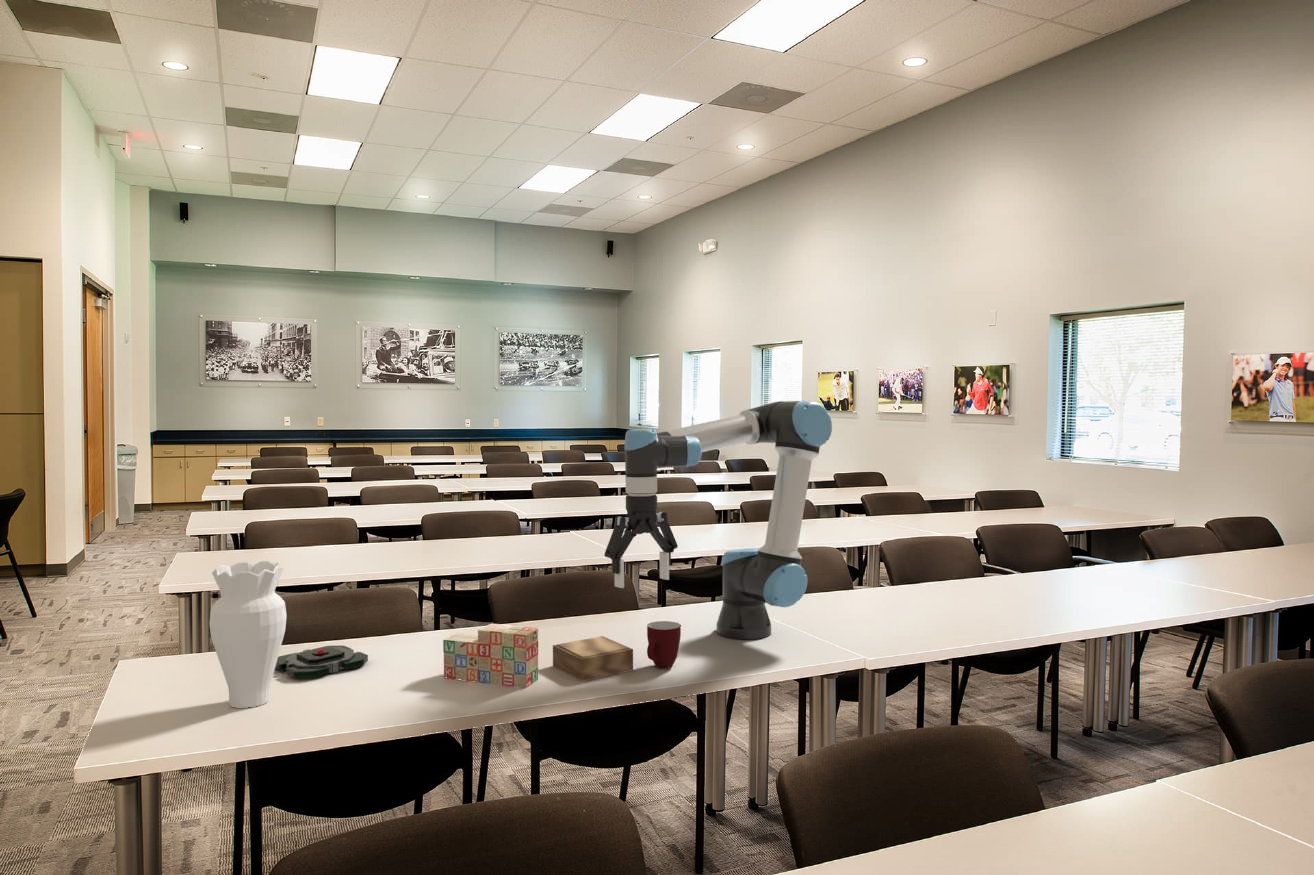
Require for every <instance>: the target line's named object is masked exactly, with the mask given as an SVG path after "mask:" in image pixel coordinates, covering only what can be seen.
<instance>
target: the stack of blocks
mask: <svg viewBox="0 0 1314 875" xmlns="http://www.w3.org/2000/svg"><path fill="white" fill-rule="evenodd" d="M442 643H443V646H442V647H443V649H442V652H443V678H444V677H447V678H451V679H450V680H454V679H455V680H456V679H461V680H465V681H464V682H469V681H475V682H474V683H477V682H478V683H479V682H481V683H480V684H486V683H487V685H490V684H491V685H494V686H495V685H498V686H505V687H511V688H512V687H513V688H519V689H527V688H529V687H530V686H532V685H533V684H534V683H536V682H537V681H538V680H539V628H538V627H527V626H525V625H516V624H515V625H512V624H511V625H510V624H500V623H489V624H487V625H485V626H483V627H482V628H479V629H478V630H477V634H471V633H460V632H456V633H454V634H452V635H450V636H448V637H446V638H444V639H443V641H442ZM461 680H460V681H461Z"/></svg>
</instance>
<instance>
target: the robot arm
mask: <svg viewBox="0 0 1314 875" xmlns="http://www.w3.org/2000/svg"><path fill="white" fill-rule="evenodd" d="M832 422H833V421H832V418H831V415H830V413H829V412H828V411H827V409H826V408H825V407H824V406H823V405H822V404H821V403H819V402H816V401H810V400H809V401H808V400H794V401H793V400H791V401H790V400H789V401H788V400H787V401H784V400H783V401H782V400H779V401H772V402H769V403H767V404H762V405H760V406H756V407H752V408H749V409H743V410H742V411H740V413H739V414H738V415H735V416H729V417H726V418H725V417H724V418H720V419H715V420H710V421H707V422H701V423H697V424H693V425H687V426H683V427H680V428H674V429H671V430H666V431H661V432H660V431H659V432H657V430H656V429H653V428H639V429H638V428H636V429H635V428H634V429H628V430H627V431H626V432H625V438H624V464H625V466H624V467H625V470H624V471H625V493H626V496H625V510H626V517H625V516H624V517H623V516H618V515H617V516H616V517H615V518H614V519H615V522H614V527H613V529H612V533H611V535H610V538H609V541H608V544H607V546H606V548H605V551H604V557H606V558H608V559H611V571H612V574H614V587H616V588H618V589H619V588H620V589H625V560H624V559H622V558H623V556H624V554H625V552H626V551H627V549H628V548H629V546H630V545H631V542H632V541H633V539H634V538H635V537H636V536H637V535H642V534H650V535H651V537H652V538H653V540H654V541H655V542H656V543H657V546H659V548H660V549H661V550H662V551H658V552H659V579H660V580H661V579H662V580H666V581H669V580H670V565H671V564H672V556H671V555H672V554H673V553H674V552H675V549H678V543H677V540H676V538H675V536H674V533H673V531H672V528H671V526H670V523H669V522H668V514H667V512H665V511H657V509H658V496H657V495H656V493H657V492H658V469H662V468H664V469H665V468H688V467H694V466H697V465H698V464H699V463H700V461H701V459H702V454H703V453H704V452H709V451H713V450H718V449H722V448H725V447H726V448H727V447H730V446H734V445H739V444H743V443H745V444H747V445H750V446H751V445H755V444H764V443H766V444H767V443H768V444H774V449H775V450H776V452H777V453H778V455H779V457H778V460H777V461H778V463H777V468H776V475H775V481H774V486H773V493H772V500H771V503H770V504H771V505H770V510H769V517H768V524H767V530H766V535H765V540H764V541H765V542H764V544H763V545H762V546H761V547H760V548H742V549H740V548H739V549H732V550H727V551H725V552H724V553H723V557H722V564H721V566H722V605H721V609H720V611H719V615H718V618H717V621H716V629H715V630H716V633H717V634H718V635H720V636H721V637H725V638H729V639H734V640H736V639H737V640H755V639H757V640H758V639H762V638H763V639H764V638H767V637H768V636H770V635H771V634H772V623H771V619H770V616H769V613H768V611H767V610H768V609H767V607H766V604H768V605H769V606H773V607H779V608H789V607H791V606H794V605H796V603H797V602H799V601H800V600H801V599H802V598H803V596H804V595H805V592H806V591H807V586H808V574H806V571H805V569H804V568H803V567H802V560H803V557H802V556H801V554H800V552H799V551H798V548H799V542H800V537H801V536H800V535H801V529H802V524H803V523H802V522H803V517H804V510H805V505H806V504H805V503H806V499H807V492H808V486H809V482H810V481H809V480H810V475H811V474H810V473H811V466H812V461H813V460H814V459H815V458H817V457H818V456H819V455H820V454H819V453H820V448H821V446H823V445H825V444H826V443H827V441H829V440H830V439H831V435H832V431H833V423H832ZM656 522H657V524H658V526H657V525H656ZM660 531H661V532H660Z"/></svg>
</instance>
